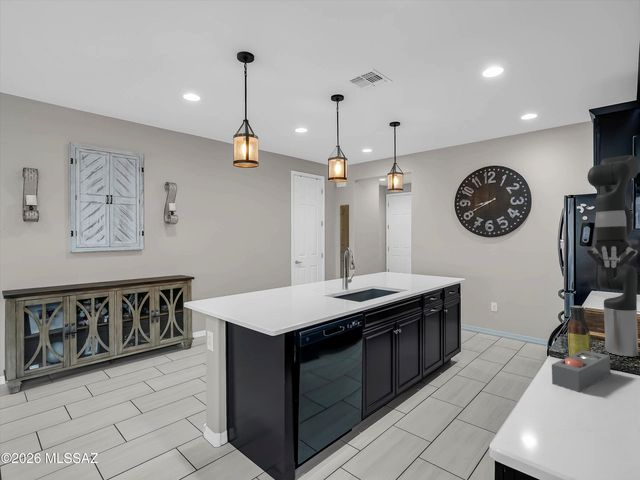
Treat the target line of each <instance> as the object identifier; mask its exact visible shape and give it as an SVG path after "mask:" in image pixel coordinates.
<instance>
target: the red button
mask: <svg viewBox="0 0 640 480" xmlns="http://www.w3.org/2000/svg"><path fill="white" fill-rule="evenodd" d="M566 358H567V357H566ZM564 359H565V358H564ZM565 364H567V365H570V366H574V367H578V368H581V367H583V361H581V360H578V359H573V358H567V359H565Z"/></svg>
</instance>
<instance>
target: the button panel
mask: <svg viewBox="0 0 640 480" xmlns="http://www.w3.org/2000/svg"><path fill="white" fill-rule="evenodd" d="M582 354H587V355H593V356H596V357H597V360H595V361H594V360H590V359H586V358H582V357H580V355H582ZM567 358H573V359H578V360H581V361H583V367H581V368H578V367H574V366H570V365H567V364H565V359H567ZM610 375H611V355H610V354H609V355H608V354H603V353H599V352H594V351H592V350H591V351H587V350H583V351H581V352H579V353H576V354H574V355H572V356H569V355H568V356H567V357H565V358H563V359H561V360H558V361H556V362H554V363H552V364H551V377H552V378H551V380H552V381H551V382H552V383H551V384H552V385H555V386H559V387H562V388H565V389H567V390H568V389H569V390H571V391H573V392H576V393H580V392H582V391H585V389H587V388H588V387H591V386H592V385H594V384H596V383H598V382H599V381H602V379H605V378H606V377H608V376H610Z"/></svg>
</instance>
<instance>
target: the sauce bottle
mask: <svg viewBox="0 0 640 480" xmlns="http://www.w3.org/2000/svg"><path fill="white" fill-rule="evenodd" d="M569 311H570V320H569V321H568V322H567V341H568V342H567V343H568V357H569V356H572V355H574V354H576V353H579V352H581V351H583V350H587V351H591V352H592V350H591V334H590V333H591V332H590V331H591V330H590V328H589V326H588V323H587V321H586V319H585V307H584V306H581V305H570V306H569Z"/></svg>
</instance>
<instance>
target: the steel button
mask: <svg viewBox="0 0 640 480" xmlns="http://www.w3.org/2000/svg"><path fill="white" fill-rule="evenodd" d="M580 357H582V358H586V359H590V360H594V361H595V360H597V357H596V356H593V355H587V354H582V355H580Z"/></svg>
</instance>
